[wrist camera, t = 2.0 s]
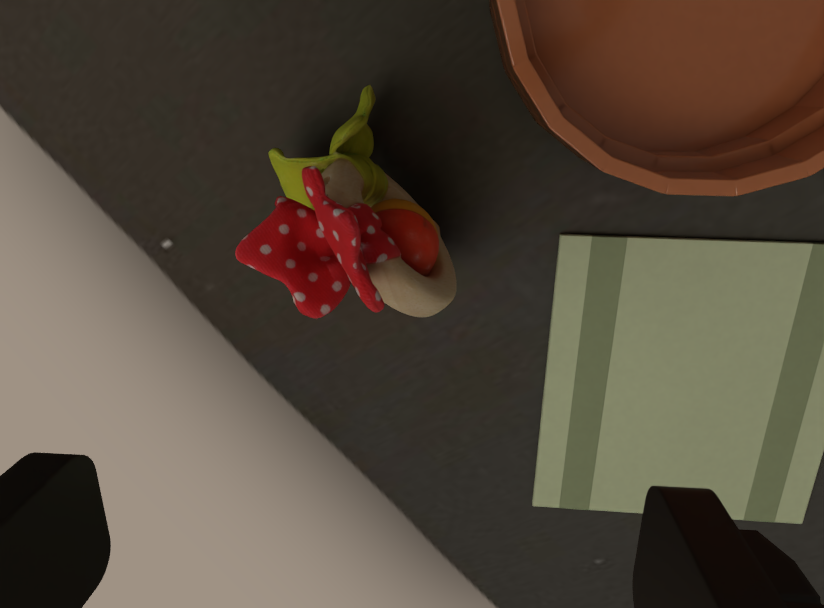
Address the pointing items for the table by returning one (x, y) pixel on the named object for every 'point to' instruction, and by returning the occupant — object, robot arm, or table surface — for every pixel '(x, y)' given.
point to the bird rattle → (350, 232)
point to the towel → (684, 374)
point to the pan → (674, 87)
